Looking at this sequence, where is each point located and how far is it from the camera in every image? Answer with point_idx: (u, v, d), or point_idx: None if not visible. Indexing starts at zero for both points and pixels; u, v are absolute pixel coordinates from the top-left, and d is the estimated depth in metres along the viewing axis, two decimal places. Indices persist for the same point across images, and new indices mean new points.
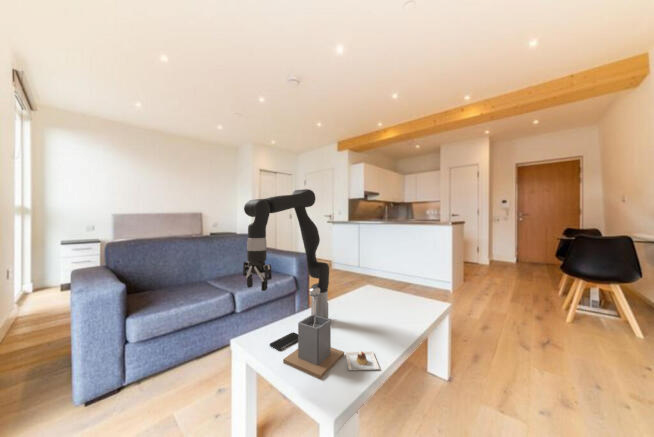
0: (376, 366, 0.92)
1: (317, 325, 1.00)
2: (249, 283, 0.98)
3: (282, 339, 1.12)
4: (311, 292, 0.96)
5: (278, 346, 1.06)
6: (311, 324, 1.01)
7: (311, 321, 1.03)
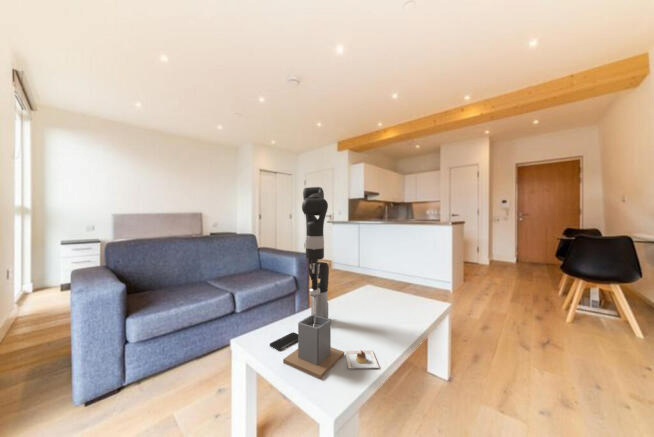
0: (375, 365, 0.93)
1: (317, 325, 1.00)
2: None
3: (282, 339, 1.12)
4: (311, 292, 0.96)
5: (278, 346, 1.06)
6: (311, 324, 1.01)
7: (311, 321, 1.03)
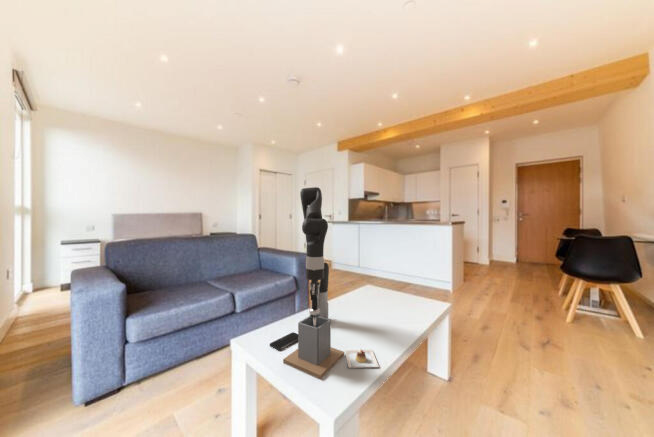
0: (375, 364, 0.94)
1: None
2: None
3: (282, 339, 1.12)
4: (311, 312, 0.96)
5: (278, 346, 1.06)
6: None
7: (311, 321, 1.03)
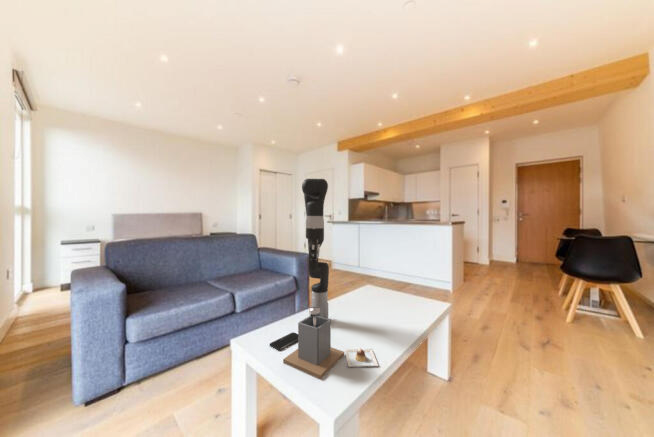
0: (375, 363, 0.94)
1: None
2: None
3: (282, 339, 1.12)
4: (311, 312, 0.96)
5: (278, 346, 1.06)
6: None
7: (311, 321, 1.03)
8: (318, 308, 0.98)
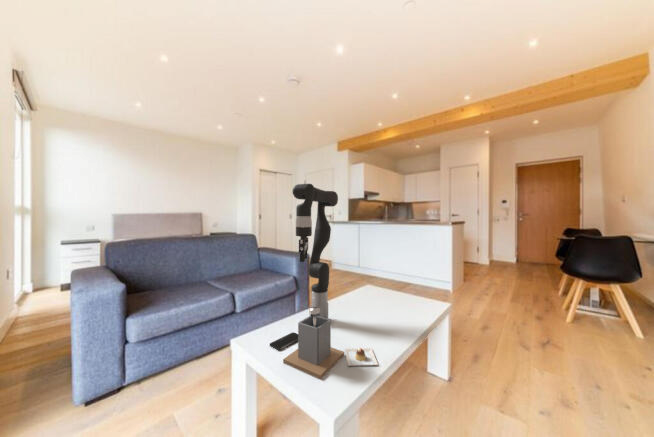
0: (374, 362, 0.95)
1: None
2: None
3: (282, 339, 1.12)
4: (311, 312, 0.96)
5: (278, 346, 1.06)
6: None
7: (311, 321, 1.03)
8: (318, 308, 0.98)
